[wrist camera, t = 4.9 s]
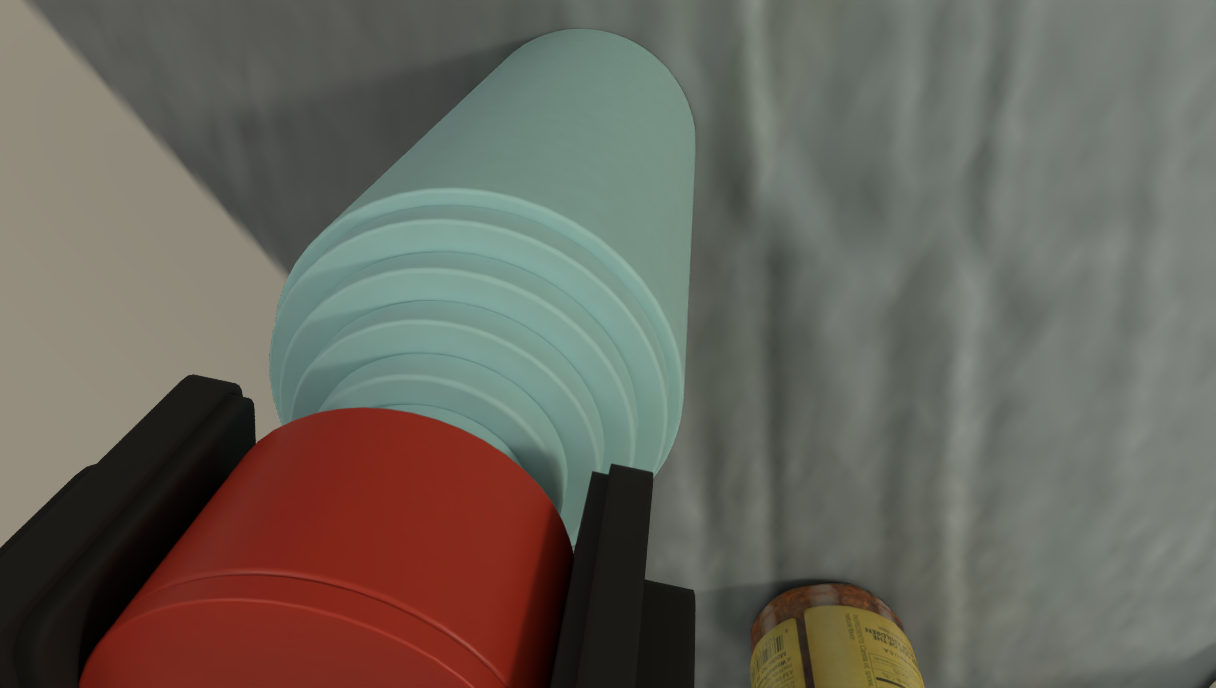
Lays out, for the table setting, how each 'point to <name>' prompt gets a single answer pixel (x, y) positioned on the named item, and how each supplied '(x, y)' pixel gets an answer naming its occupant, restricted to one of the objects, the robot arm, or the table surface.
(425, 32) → the table surface
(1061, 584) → the table surface
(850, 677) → the sauce bottle
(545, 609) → the cap
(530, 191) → the water bottle
